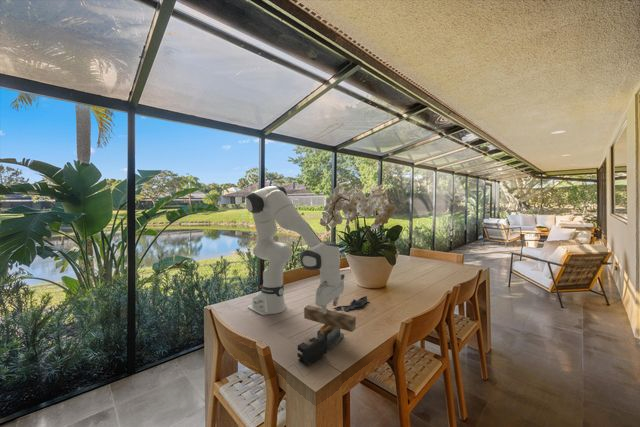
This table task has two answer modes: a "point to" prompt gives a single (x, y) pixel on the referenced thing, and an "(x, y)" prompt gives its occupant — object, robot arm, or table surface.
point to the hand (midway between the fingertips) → (330, 309)
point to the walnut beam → (330, 318)
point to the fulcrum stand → (330, 335)
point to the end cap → (311, 351)
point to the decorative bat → (354, 304)
